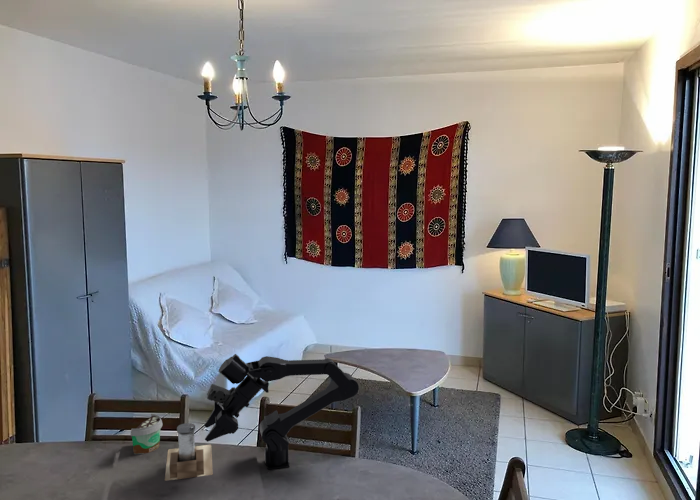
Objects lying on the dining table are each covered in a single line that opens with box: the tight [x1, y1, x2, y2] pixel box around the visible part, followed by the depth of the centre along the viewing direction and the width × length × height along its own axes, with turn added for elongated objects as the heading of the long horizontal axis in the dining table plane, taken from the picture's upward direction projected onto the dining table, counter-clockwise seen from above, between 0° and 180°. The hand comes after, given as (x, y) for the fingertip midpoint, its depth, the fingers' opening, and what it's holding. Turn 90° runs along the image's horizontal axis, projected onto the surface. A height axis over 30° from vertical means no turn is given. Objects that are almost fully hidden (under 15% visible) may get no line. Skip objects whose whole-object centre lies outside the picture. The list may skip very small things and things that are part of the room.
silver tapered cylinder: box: [176, 422, 196, 462], centre depth 162 cm, size 5×5×13 cm
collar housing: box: [164, 444, 214, 481], centre depth 168 cm, size 13×19×6 cm
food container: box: [130, 413, 163, 455], centre depth 176 cm, size 12×6×10 cm, turn 168°
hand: (205, 433), depth 163 cm, fingers open, 9 cm apart
